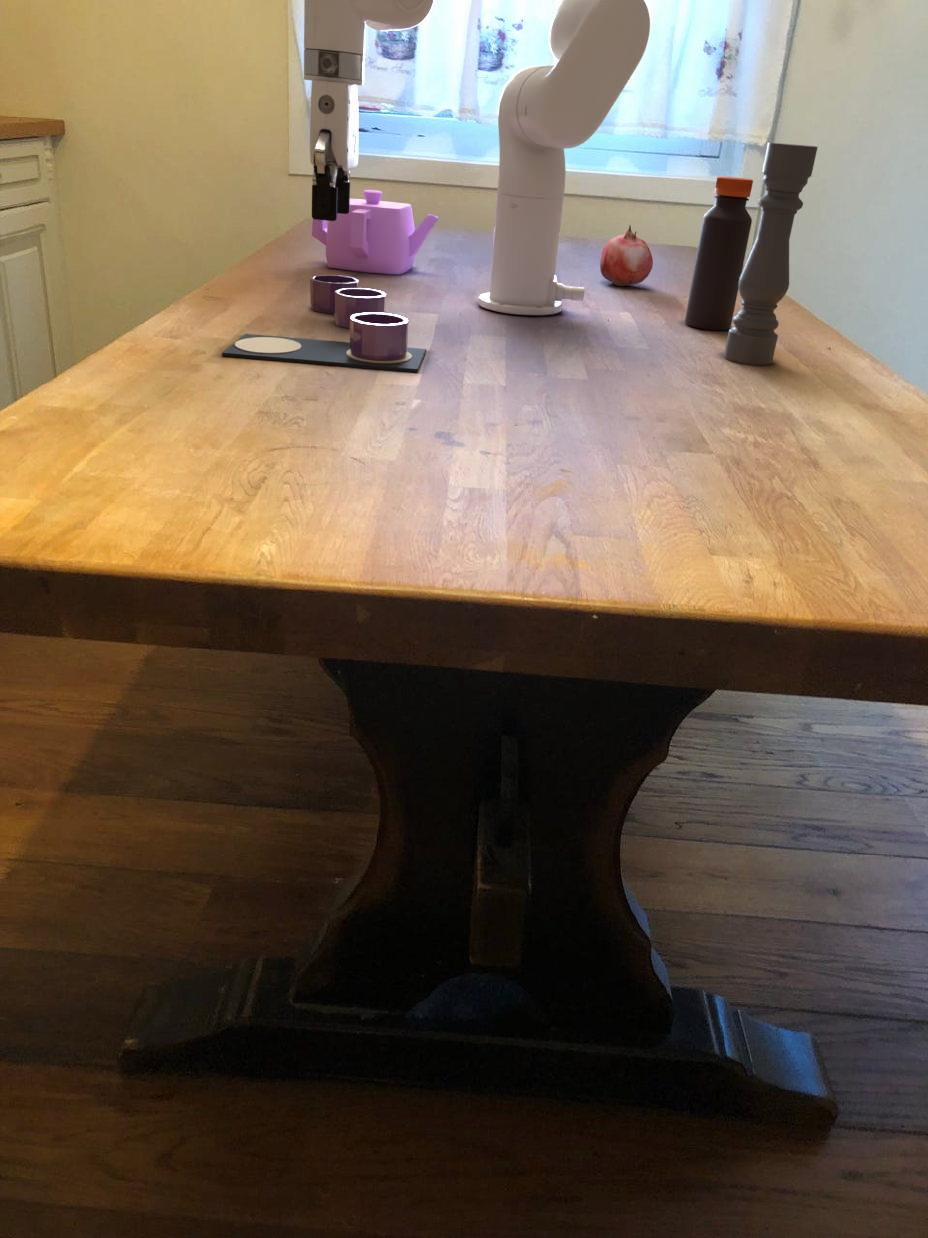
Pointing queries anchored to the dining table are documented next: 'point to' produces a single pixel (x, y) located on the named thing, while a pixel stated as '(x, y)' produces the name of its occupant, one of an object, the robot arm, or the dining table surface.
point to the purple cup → (328, 290)
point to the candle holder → (769, 255)
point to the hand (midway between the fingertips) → (331, 216)
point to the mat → (316, 353)
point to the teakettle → (373, 236)
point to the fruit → (626, 260)
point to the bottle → (720, 256)
